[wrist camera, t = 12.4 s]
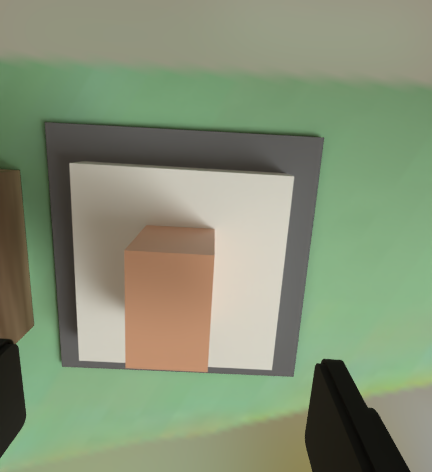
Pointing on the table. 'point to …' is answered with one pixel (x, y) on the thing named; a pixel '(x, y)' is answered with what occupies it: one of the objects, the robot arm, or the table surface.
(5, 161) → the table surface
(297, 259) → the mat
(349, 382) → the robot arm
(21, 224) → the box
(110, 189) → the lid
